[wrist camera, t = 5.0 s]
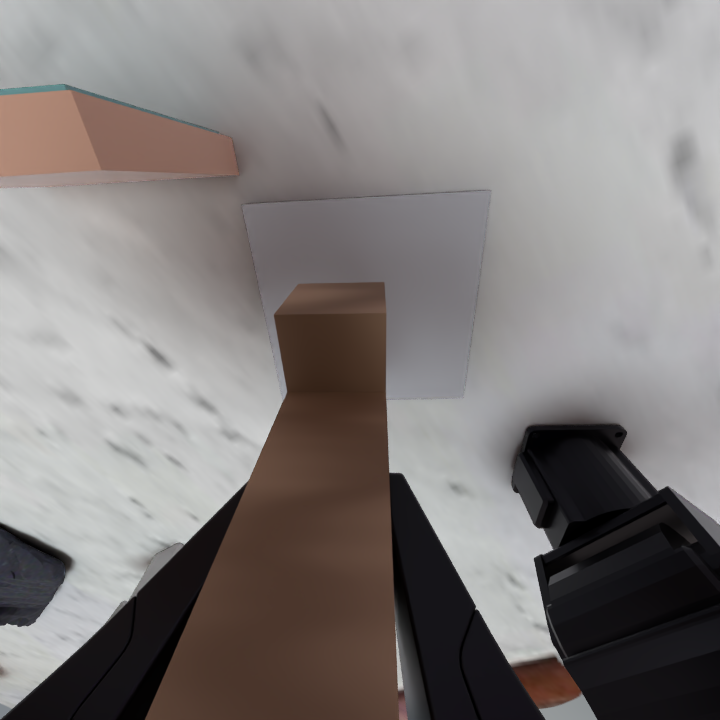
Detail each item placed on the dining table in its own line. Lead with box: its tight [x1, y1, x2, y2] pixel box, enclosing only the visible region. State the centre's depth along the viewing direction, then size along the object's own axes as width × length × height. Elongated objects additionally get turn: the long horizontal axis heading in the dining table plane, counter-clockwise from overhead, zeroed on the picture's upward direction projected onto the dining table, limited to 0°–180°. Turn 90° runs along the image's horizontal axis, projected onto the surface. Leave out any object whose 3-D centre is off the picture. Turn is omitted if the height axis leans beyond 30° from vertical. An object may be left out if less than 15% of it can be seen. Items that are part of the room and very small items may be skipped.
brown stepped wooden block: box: [145, 282, 399, 720], centre depth 9 cm, size 3×8×10 cm, turn 2°
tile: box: [0, 84, 239, 188], centre depth 11 cm, size 10×2×9 cm, turn 93°
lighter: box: [105, 543, 184, 624], centre depth 29 cm, size 7×2×8 cm, turn 127°
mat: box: [241, 190, 491, 401], centre depth 18 cm, size 12×12×1 cm
